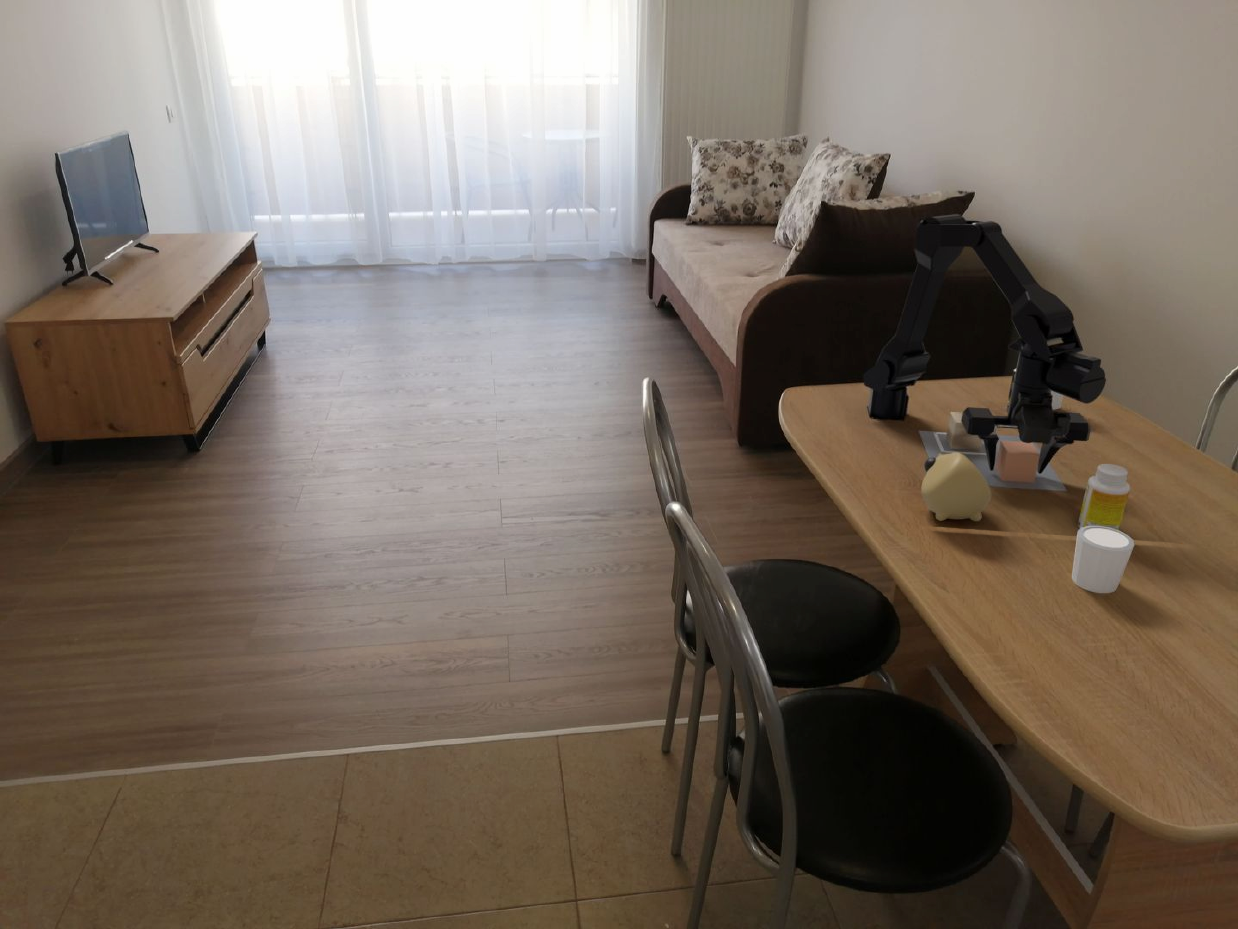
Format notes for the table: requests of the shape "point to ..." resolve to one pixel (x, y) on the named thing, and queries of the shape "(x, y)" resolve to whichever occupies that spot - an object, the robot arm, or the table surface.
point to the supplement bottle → (1105, 497)
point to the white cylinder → (1100, 558)
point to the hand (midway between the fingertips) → (1015, 471)
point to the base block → (961, 434)
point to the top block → (1017, 461)
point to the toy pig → (954, 487)
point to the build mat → (939, 445)
